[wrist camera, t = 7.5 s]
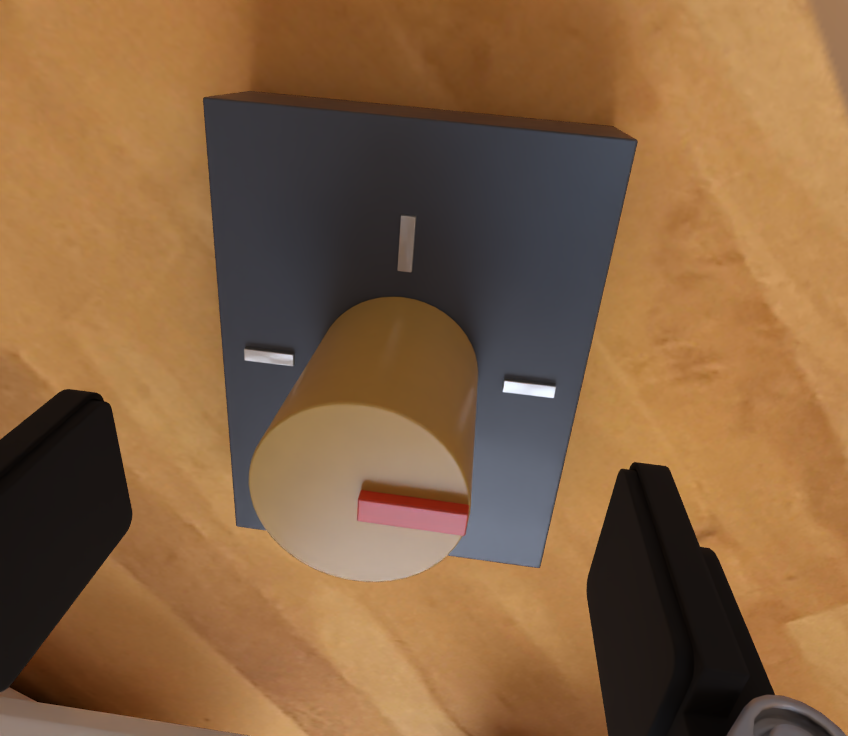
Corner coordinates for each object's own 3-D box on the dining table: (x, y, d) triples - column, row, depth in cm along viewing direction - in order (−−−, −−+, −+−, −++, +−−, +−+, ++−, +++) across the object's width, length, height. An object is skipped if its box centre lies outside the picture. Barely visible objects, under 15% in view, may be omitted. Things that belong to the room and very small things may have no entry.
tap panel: (248, 90, 17) (198, 97, 14) (615, 126, 16) (640, 140, 13) (266, 472, 23) (233, 530, 20) (534, 507, 22) (540, 572, 19)
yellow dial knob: (318, 428, 18) (247, 577, 13) (320, 286, 16) (235, 395, 11) (467, 448, 18) (456, 608, 13) (488, 306, 16) (484, 428, 11)
